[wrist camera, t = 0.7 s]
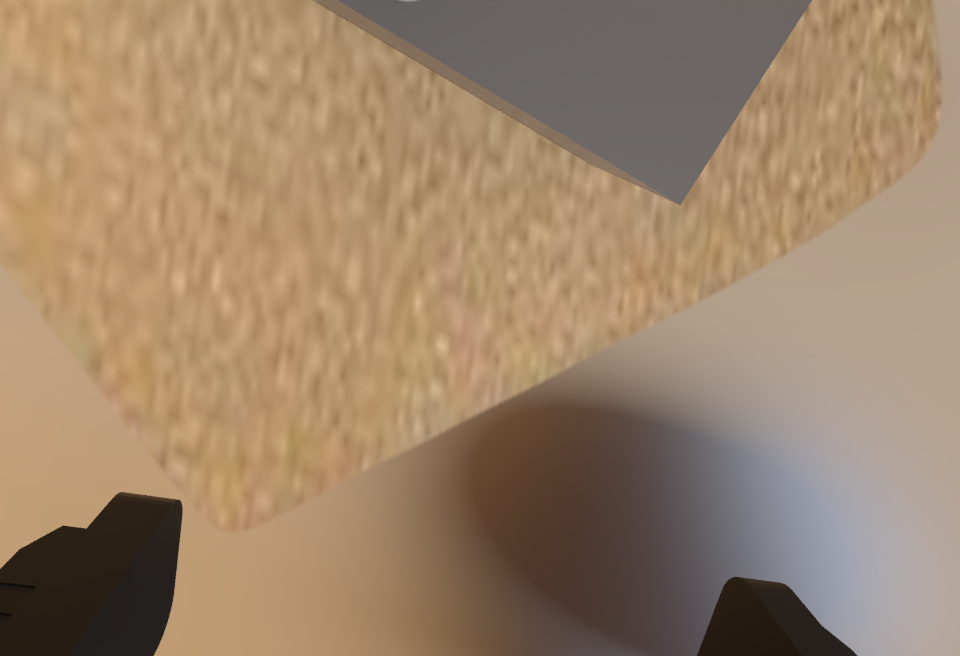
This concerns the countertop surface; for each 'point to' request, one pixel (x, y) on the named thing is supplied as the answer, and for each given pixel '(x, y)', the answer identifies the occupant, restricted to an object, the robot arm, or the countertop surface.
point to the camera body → (599, 70)
